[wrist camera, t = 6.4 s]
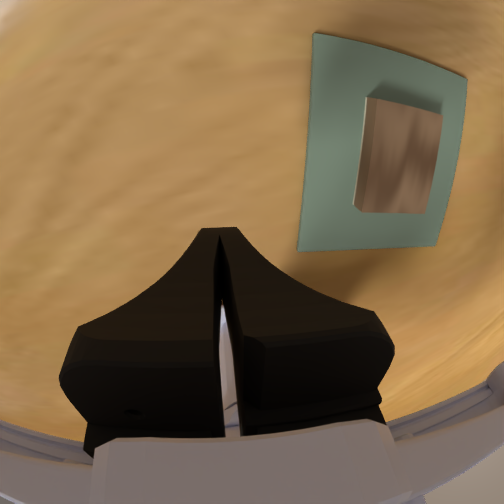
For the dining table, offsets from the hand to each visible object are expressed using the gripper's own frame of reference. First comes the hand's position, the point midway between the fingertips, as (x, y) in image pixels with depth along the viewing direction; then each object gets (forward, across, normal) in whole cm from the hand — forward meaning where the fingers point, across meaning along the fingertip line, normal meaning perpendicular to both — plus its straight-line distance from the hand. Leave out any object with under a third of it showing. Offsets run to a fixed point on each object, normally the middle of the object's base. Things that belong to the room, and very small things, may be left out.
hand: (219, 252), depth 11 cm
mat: (+10, -13, -2) cm, 16 cm away
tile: (+9, -10, -2) cm, 13 cm away
